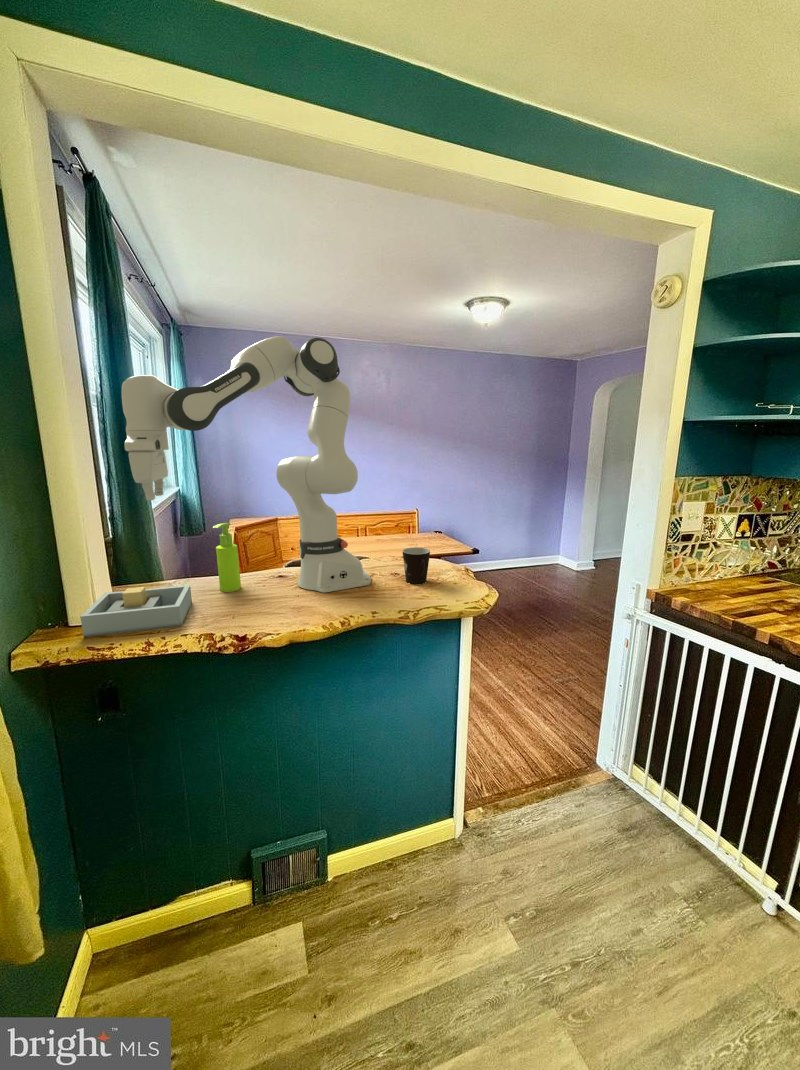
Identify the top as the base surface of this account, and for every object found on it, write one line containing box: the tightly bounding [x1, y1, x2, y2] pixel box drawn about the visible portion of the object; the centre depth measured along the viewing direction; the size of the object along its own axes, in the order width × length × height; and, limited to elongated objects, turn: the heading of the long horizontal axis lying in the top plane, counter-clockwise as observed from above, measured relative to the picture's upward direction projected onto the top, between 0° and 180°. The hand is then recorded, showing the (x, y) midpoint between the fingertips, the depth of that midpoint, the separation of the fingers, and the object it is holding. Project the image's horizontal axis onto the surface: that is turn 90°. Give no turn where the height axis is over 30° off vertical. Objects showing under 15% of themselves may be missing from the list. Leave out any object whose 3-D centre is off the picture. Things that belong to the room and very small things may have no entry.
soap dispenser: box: [212, 522, 242, 593], centre depth 125 cm, size 6×7×20 cm
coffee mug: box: [402, 546, 431, 585], centre depth 131 cm, size 12×9×10 cm
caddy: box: [80, 584, 193, 638], centre depth 106 cm, size 20×16×5 cm
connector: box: [122, 586, 147, 607], centre depth 107 cm, size 4×4×6 cm
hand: (155, 497), depth 110 cm, fingers open, 8 cm apart
